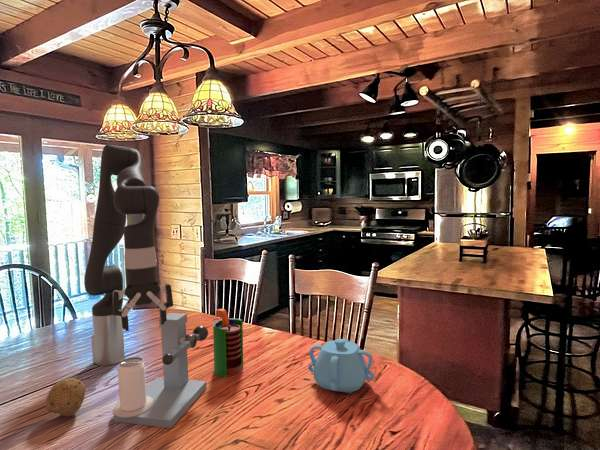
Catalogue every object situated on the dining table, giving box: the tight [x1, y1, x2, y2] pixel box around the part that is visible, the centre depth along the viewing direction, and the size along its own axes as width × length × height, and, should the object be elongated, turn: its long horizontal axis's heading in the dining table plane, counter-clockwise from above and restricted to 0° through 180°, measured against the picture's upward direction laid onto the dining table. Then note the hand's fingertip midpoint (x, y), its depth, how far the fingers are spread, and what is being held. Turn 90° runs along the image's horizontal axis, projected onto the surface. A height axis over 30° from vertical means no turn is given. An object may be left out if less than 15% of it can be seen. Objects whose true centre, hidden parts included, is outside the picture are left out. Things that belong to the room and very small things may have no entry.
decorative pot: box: [308, 338, 375, 394], centre depth 115 cm, size 16×16×14 cm
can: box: [117, 356, 147, 412], centre depth 102 cm, size 6×6×12 cm
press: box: [112, 312, 207, 429], centre depth 106 cm, size 18×21×22 cm
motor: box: [212, 308, 244, 378], centre depth 126 cm, size 10×9×20 cm
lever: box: [161, 325, 209, 365], centre depth 107 cm, size 4×22×4 cm, turn 168°
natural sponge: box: [44, 377, 86, 418], centre depth 102 cm, size 9×9×10 cm
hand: (144, 326), depth 100 cm, fingers open, 8 cm apart
